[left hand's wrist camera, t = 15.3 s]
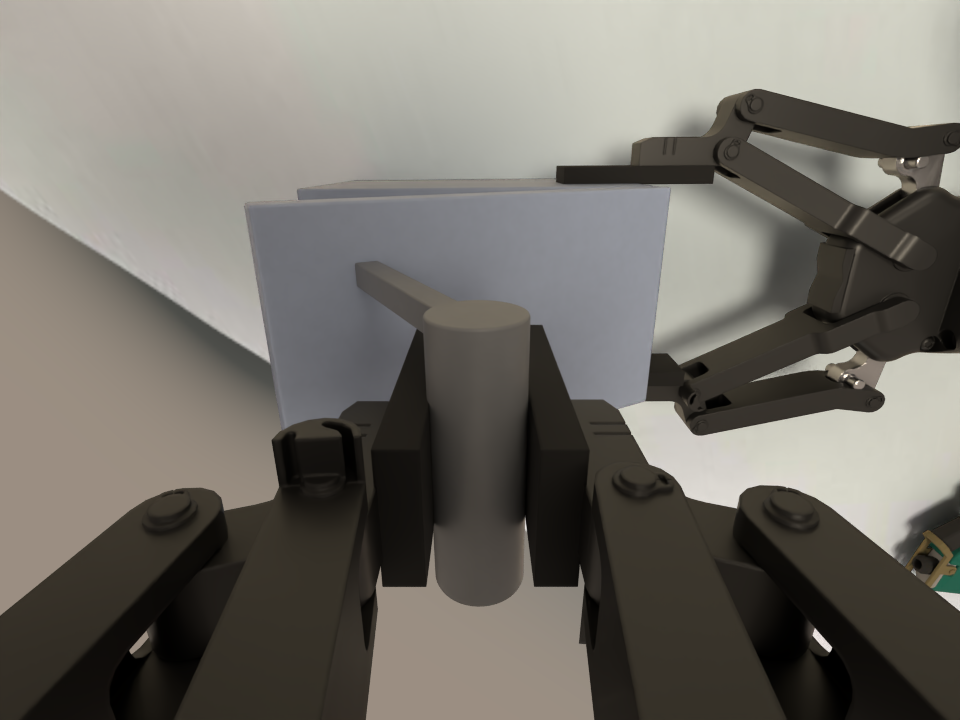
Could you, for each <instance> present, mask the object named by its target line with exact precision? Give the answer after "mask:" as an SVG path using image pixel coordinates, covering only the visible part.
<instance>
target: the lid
mask: <svg viewBox="0 0 960 720" xmlns="http://www.w3.org/2000/svg"><path fill="white" fill-rule="evenodd" d="M669 199H670V188H669V187H657V186H638V187H613V188H588V189H563V190H538V191H513V192H488V193H463V194H438V195H414V196H389V197H364V198H339V199H314V200H289V201H264V202H247V203H245V206H244V207H245V213H246V219H247V225H248V231H249V237H250V243H251V249H252V255H253V261H254V267H255V273H256V279H257V285H258V291H259V297H260V303H261V309H262V315H263V321H264V327H265V333H266V339H267V345H268V351H269V356H270V362H271V368H272V374H273V380H274V386H275V392H276V398H277V404H278V410H279V416H280V422H281V428H282V430H284V429H286V428H287V427H289V426H291V425H293V424H297V423H300V422H303V421H306V420H312V419H319V418H339V417H340V415H341V413H342V411H344V410H345V409H347V408H348V407H350V406H351V405H353V404H354V403H355V402H357V401H389V400H390V398H391V395H392V393H393V390H394V387H395V385H396V382H397V379H398V377H399V374H400V371H401V369H402V366H403V364H404V361H405V358H406V356H407V353H408V350H409V348H410V345H411V342H412V340H413V337H414V335H415V332H416V329H418V330H419V331H421V332H422V333H423V337H424V357H425V376H426V396H427V401H428V403H429V409H430V433H431V457H432V481H433V505H434V529H433V533H434V552H435V571H436V579H437V583H438V585H439V587H440V588H441V589H442V591H443V592H444V593H445V594H446V595H447V596H448V597H450V598H451V599H453V600H454V601H456V602H459V603H461V604H464V605H469V606H490V605H494V604H497V603H500V602H502V601H504V600H506V599H508V598H509V597H511V596H512V595H513V594H514V593H515V592H516V591H517V589H518V588H519V586H520V584H521V582H522V580H523V573H524V536H525V500H526V463H527V426H528V390H529V353H530V325H543V328H544V331H545V333H546V336H547V338H548V341H549V344H550V346H551V349H552V352H553V354H554V357H555V360H556V362H557V365H558V367H559V370H560V373H561V375H562V378H563V381H564V383H565V386H566V389H567V391H568V394H569V396H570V399H603V400H605V401H606V402H608V403H609V404H611V405H612V406H614V407H615V408H616V409H620V408H623V407H626V406H630V405H633V404H637V403H640V402H644V401H645V400H646V393H647V385H648V376H649V368H650V360H651V351H652V343H653V334H654V326H655V317H656V309H657V300H658V292H659V283H660V275H661V266H662V258H663V250H664V241H665V233H666V224H667V216H668V207H669Z"/></svg>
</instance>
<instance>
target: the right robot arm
mask: <svg viewBox="0 0 960 720" xmlns="http://www.w3.org/2000/svg"><path fill="white" fill-rule="evenodd" d="M716 114H717V117H716V119H715V121H714V123H713V126H712V127H711V129H710V130H709V131H708V132H707V133H706V134H705V135H703V136H701V137H652V138H645V139H642V140H639V141H637V142H635V143H633V144H632V154H631V165H611V166H557V170H556V182H558V183H561V184H713V178H714V172H716V173H717V174H719V175H721V176H723V177H725V178H726V179H728V180H730V181H732V182H733V183H735V184H737V185H739V186H740V187H742V188H744V189H746V190H747V191H749V192H751V193H753V194H754V195H756V196H758V197H760V198H761V199H763V200H765V201H767V202H769V203H770V204H772V205H774V206H776V207H777V208H779V209H781V210H783V211H784V212H786V213H788V214H790V215H791V216H793V217H795V218H797V219H798V220H800V221H802V222H804V223H805V225H806V226H807V227H809V228H811V229H812V230H814V231H816V232H818V233H819V234H821V235H823V236H825V237H826V238H828V239H827V241H826V242H821V243H820V246H819V251H818V255H817V271H818V272H817V275H816V277H815V279H814V281H813V283H812V285H811V287H810V291H809V295H808V299H807V303H808V304H806V305H803V306H801V307H799V308H797V309H794V310H792V311H790V312H788V313H787V314H786V315H785V318H784V319H783V320H781V321H778V322H776V323H774V324H771V325H769V326H767V327H765V328H762V329H760V330H758V331H756V332H753V333H751V334H749V335H747V336H744V337H742V338H740V339H737V340H735V341H733V342H731V343H728V344H726V345H724V346H722V347H719V348H717V349H715V350H712V351H710V352H708V353H706V354H703V355H701V356H699V357H697V358H694V359H692V360H690V361H687V362H685V363H683V364H681V365H678V364H677V363H676V362H675V361H674V360H673V359H672V358H671V357H670V356H669V355H668V354H651V360H650V368H649V376H648V385H647V393H646V400H645V401H674V402H675V405H674V408H675V411H676V412H677V414H678V415H679V416H680V418H681V419H682V420H683V422H684V423H685V424H686V425H687V427H688V428H689V429H690V431H691V432H692V433H693V434H695V435H698V436H699V435H707V434H712V433H717V432H722V431H727V430H732V429H737V428H742V427H747V426H753V425H758V424H763V423H768V422H773V421H778V420H783V419H788V418H793V417H798V416H803V415H808V414H813V413H818V412H824V411H829V410H834V409H843V410H852V411H861V412H874V411H877V410H878V409H880V408H881V407H882V406H883V404H884V401H885V397H884V395H883V394H882V393H881V392H879V391H878V390H876V389H875V386H876V384H877V382H878V379H879V377H880V375H881V372H882V370H883V368H884V365H885V363H886V362H889V361H893V360H896V359H898V358H901V357H903V356H905V355H908V354H911V353H916V352H925V353H960V196H954V195H952V194H951V193H949V192H948V191H947V190H945V189H943V188H940V187H939V183H940V178H941V172H942V167H943V161H944V155H945V154H947V153H951V152H954V151H956V150H957V149H959V148H960V123H946V124H934V125H922V126H910V127H905V126H901V125H897V124H894V123H890V122H886V121H882V120H878V119H874V118H870V117H866V116H863V115H859V114H855V113H851V112H847V111H843V110H839V109H835V108H832V107H828V106H824V105H820V104H816V103H812V102H808V101H804V100H801V99H797V98H793V97H789V96H785V95H781V94H777V93H773V92H770V91H766V90H762V89H754V90H750V91H746V92H742V93H739V94H735V95H731V96H728V97H726V98H724V99H723V100H722V101H721V102H720V103H719V105H718V107H717V111H716ZM751 131H754V132H757V133H761V134H765V135H769V136H773V137H777V138H781V139H785V140H789V141H793V142H797V143H801V144H805V145H809V146H813V147H817V148H821V149H825V150H829V151H833V152H837V153H841V154H845V155H849V156H853V157H859V158H879V160H878V166H879V167H880V168H882V169H883V171H884V172H885V173H886V174H888V175H893V176H896V177H898V178H899V179H900V180H901V183H902V188H900V189H898V190H896V191H895V192H893V193H892V194H890V195H889V196H887V197H885V198H884V199H882V200H881V201H879V202H878V203H876V204H874V205H873V206H871V207H870V208H868V209H866V208H863V207H860V206H857V205H854V204H852V203H850V202H849V201H847V200H845V199H844V198H842V197H840V196H838V195H837V194H835V193H833V192H832V191H830V190H828V189H826V188H825V187H823V186H821V185H820V184H818V183H816V182H815V181H813V180H811V179H809V178H808V177H806V176H804V175H803V174H801V173H799V172H797V171H796V170H794V169H792V168H791V167H789V166H787V165H786V164H784V163H782V162H780V161H779V160H777V159H775V158H774V157H772V156H770V155H768V154H767V153H765V152H763V151H762V150H760V149H758V148H756V147H755V146H753V145H751V144H750V143H748V142H746V141H747V139H748V137H749V135H750V133H751ZM848 346H850V347H851V348H853V349H854V350H855V351H857V352H856V354H855V356H854V357H853V358H852V359H851V360H849V361H847V362H843V363H837V364H834V363H830V364H828V365H827V366H826V368H825V371H820V370H815V371H804V372H798V373H794V374H789V375H784V376H779V377H774V378H769V379H764V380H759V381H755V382H751V381H753V380H756V379H758V378H761V377H763V376H765V375H768V374H770V373H772V372H775V371H777V370H779V369H782V368H784V367H786V366H789V365H791V364H794V363H796V362H798V361H801V360H803V359H805V358H808V357H810V356H812V355H815V354H830V353H834V352H837V351H839V350H841V349H844V348H846V347H848ZM749 382H750V383H749Z"/></svg>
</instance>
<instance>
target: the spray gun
mask: <svg viewBox="0 0 960 720" xmlns="http://www.w3.org/2000/svg"><path fill="white" fill-rule="evenodd" d="M932 532H933V533H932ZM932 532H931V531H929V530H927V531H925V532H924V533H922V534H923V536H924V537H925V539H924V540H923V542H922V543H921V545H920V546H919V548H918V549H917V550H916V552H915V553H914V555H913V556H912V558H911V559H910V561H909V562H908V564H907V565H906V567H905V568H907V569H908V570H909V571H910V572H911V570H912V569H913V567H914V569H915V570H916V577H918V578H919V579H920V580H921V581H923V582H924V583H925V584H926V585H928V586H929V587H930V588H931V589H933V590H934V591H940V592H949V593H958V594H960V517H958V518H956V519H954V520H952V521H950V522H948V523H946V524H944V525H942V526H940V527H938V528H936V529H934V530H932ZM929 544H930V546H931V547H932V548H933V549H932V548H927V547H928V546H929Z"/></svg>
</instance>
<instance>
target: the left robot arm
mask: <svg viewBox="0 0 960 720" xmlns="http://www.w3.org/2000/svg"><path fill="white" fill-rule="evenodd" d="M272 446H273V452H274V458H275V464H276V470H277V476H278V482H279V489H278V491H277V493H276V495H275V498H274V499H273V500H271V501H268V502H264V503H260V504H256V505H251V506H246V507H241V508H236V509H231V510H226V511H224V509H223V504H222V499H221V497H220V496H219V495H218V494H217V493H215V492H214V491H212V490H208V489H204V488H182V489H176V490H174V491H173V490H171V491H167V492H164V493H162V494H160V495H158V496H155V497H153V498H150V499H148V500H146V501H144V502H142V503H141V504H139V505H138V506H136V507H135V508H133V509H132V510H130V511H129V512H128V513H126V514H125V515H124V516H123V517H121V518H120V519H119V520H118V521H116V522H115V523H114V524H113V525H111V526H110V527H109V528H108V529H107V530H105V531H104V532H103V533H102V534H100V535H99V536H98V537H97V538H96V539H94V540H93V541H92V542H91V543H89V544H88V545H87V546H86V547H84V548H83V549H82V550H81V551H79V552H78V553H77V554H76V555H75V556H73V557H72V558H71V559H70V560H68V561H67V562H66V563H65V564H63V565H62V566H61V567H60V568H59V569H57V570H56V571H55V572H54V573H52V574H51V575H50V576H49V577H47V578H46V579H45V580H44V581H42V582H41V583H40V584H39V585H38V586H36V587H35V588H34V589H33V590H31V591H30V592H29V593H28V594H26V595H25V596H24V597H23V598H22V599H20V600H19V601H18V602H17V603H15V604H14V605H13V606H12V607H10V608H9V609H8V610H7V611H5V612H4V613H3V614H2V615H1V616H0V720H366V712H367V703H368V694H369V685H370V675H371V666H372V657H373V648H374V639H375V630H376V621H377V612H378V607H377V596H376V583H377V579H378V575H379V570H380V566H381V574H382V585H383V587H426V585H427V576H428V569H429V561H430V553H431V545H432V537H433V529H434V505H433V481H432V457H431V433H430V409H429V403H428V401H427V396H426V376H425V357H424V337H423V333H422V332H421V331H419V330H418V329H416V332H415V335H414V337H413V340H412V342H411V345H410V348H409V350H408V353H407V356H406V358H405V361H404V364H403V366H402V369H401V371H400V374H399V377H398V379H397V382H396V385H395V387H394V390H393V393H392V395H391V398H390V400H389V401H357V402H355V403H354V404H353V405H351V406H350V407H348V408H347V409H345V410H344V411H342V413H341V415H340V417H339V418H319V419H312V420H306V421H303V422H300V423H297V424H293V425H291V426H289V427H287V428H286V429H284V430H282V431H280V432H279V433H278V434H277V435H276V436H275V437H274V438H273V439H272ZM525 518H526V526H527V534H528V541H529V549H530V557H531V565H532V573H533V581H534V587H578V578H579V567H580V566H581V570H582V574H583V578H584V582H585V586H584V596H583V607H582V618H581V628H580V639H579V643H580V644H586V647H587V656H588V665H589V674H590V683H591V693H592V702H593V711H594V720H960V611H959V610H958V609H956V608H955V607H954V606H953V605H951V604H950V603H949V602H948V601H946V600H945V599H944V598H943V597H941V596H940V595H939V594H938V593H936V592H935V591H934V590H933V589H931V588H930V587H929V586H928V585H926V584H925V583H924V582H923V581H921V580H920V579H919V578H918V577H916V576H915V575H914V574H913V573H912V572H910V571H909V570H908V569H907V568H905V567H904V566H903V565H902V564H900V563H899V562H898V561H897V560H895V559H894V558H893V557H892V556H890V555H889V554H888V553H887V552H885V551H884V550H883V549H882V548H880V547H879V546H878V545H877V544H875V543H874V542H873V541H872V540H870V539H869V538H868V537H867V536H865V535H864V534H863V533H862V532H860V531H859V530H858V529H857V528H856V527H854V526H853V525H852V524H851V523H849V522H848V521H847V520H846V519H844V518H843V517H842V516H841V515H839V514H838V513H837V512H836V511H834V510H833V509H832V508H830V507H829V506H827V505H826V504H824V503H823V502H821V501H819V500H818V499H816V498H814V497H812V496H809V495H807V494H804V493H802V492H800V491H798V490H795V489H792V488H786V487H782V486H764V485H760V486H756V487H752V488H748V489H746V490H745V491H744V492H743V493H742V494H741V495H740V497H739V502H738V506H737V509H736V508H731V507H726V506H721V505H716V504H711V503H706V502H702V501H698V500H694V499H691V498H688V497H686V496H685V494H684V492H683V490H682V488H681V486H680V485H679V483H678V482H677V481H676V480H675V478H674V477H673V476H671V475H670V474H668V473H667V472H665V471H664V470H662V469H660V468H657V467H654V466H652V465H649V464H648V462H647V460H646V459H645V457H644V455H643V453H642V451H641V450H640V448H639V446H638V444H637V442H636V441H635V439H634V437H633V435H631V432H630V430H629V428H628V426H627V425H625V421H624V419H623V417H622V415H621V414H620V412H619V410H618V409H616V408H615V407H614V406H612V405H611V404H609V403H608V402H606V401H605V400H603V399H570V396H569V394H568V391H567V389H566V386H565V383H564V381H563V378H562V375H561V373H560V370H559V367H558V365H557V362H556V360H555V357H554V354H553V352H552V349H551V346H550V344H549V341H548V338H547V336H546V333H545V331H544V328H543V325H530V353H529V390H528V426H527V463H526V500H525ZM814 628H816V630H817V631H818V632H819V633H820V634H821V635H822V636H823V637H824V639H825V640H826V641H827V642H828V643H829V644H830V645H831V646H832V650H831V652H828V651H827V650H825V649H824V648H823V647H822V646H821V645H820V644H819V643H818V642H817V640H816V639H815V638H814V637H813V636H812V635H813V632H814ZM146 630H147V633H148V636H149V638H148V639H147V640H146V641H145V643H144V644H143V645H142V646H141V647H140V648H139V649H138V650H137V651H135V652H134V653H133V654H131V653H130V651H129V650H130V649H131V647H132V646H133V645H134V644H135V643H136V642H137V641H138V639H139V638H140V637H141V636H142V635H143V634H144V633H145V632H146Z"/></svg>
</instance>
